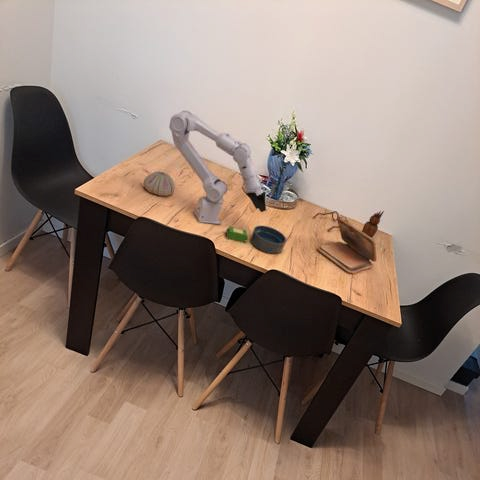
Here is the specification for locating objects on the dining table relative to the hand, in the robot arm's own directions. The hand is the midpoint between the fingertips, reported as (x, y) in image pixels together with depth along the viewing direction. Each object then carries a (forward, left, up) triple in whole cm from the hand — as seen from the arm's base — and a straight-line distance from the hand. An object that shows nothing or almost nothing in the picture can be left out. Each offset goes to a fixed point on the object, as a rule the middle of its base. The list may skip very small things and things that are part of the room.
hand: (261, 209), depth 185 cm
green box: (-8, -2, -12) cm, 15 cm away
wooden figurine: (+70, +12, -13) cm, 73 cm away
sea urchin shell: (-33, +31, -13) cm, 47 cm away
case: (+42, -11, -13) cm, 46 cm away
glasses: (+52, +20, -13) cm, 58 cm away
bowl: (+4, -6, -12) cm, 14 cm away
